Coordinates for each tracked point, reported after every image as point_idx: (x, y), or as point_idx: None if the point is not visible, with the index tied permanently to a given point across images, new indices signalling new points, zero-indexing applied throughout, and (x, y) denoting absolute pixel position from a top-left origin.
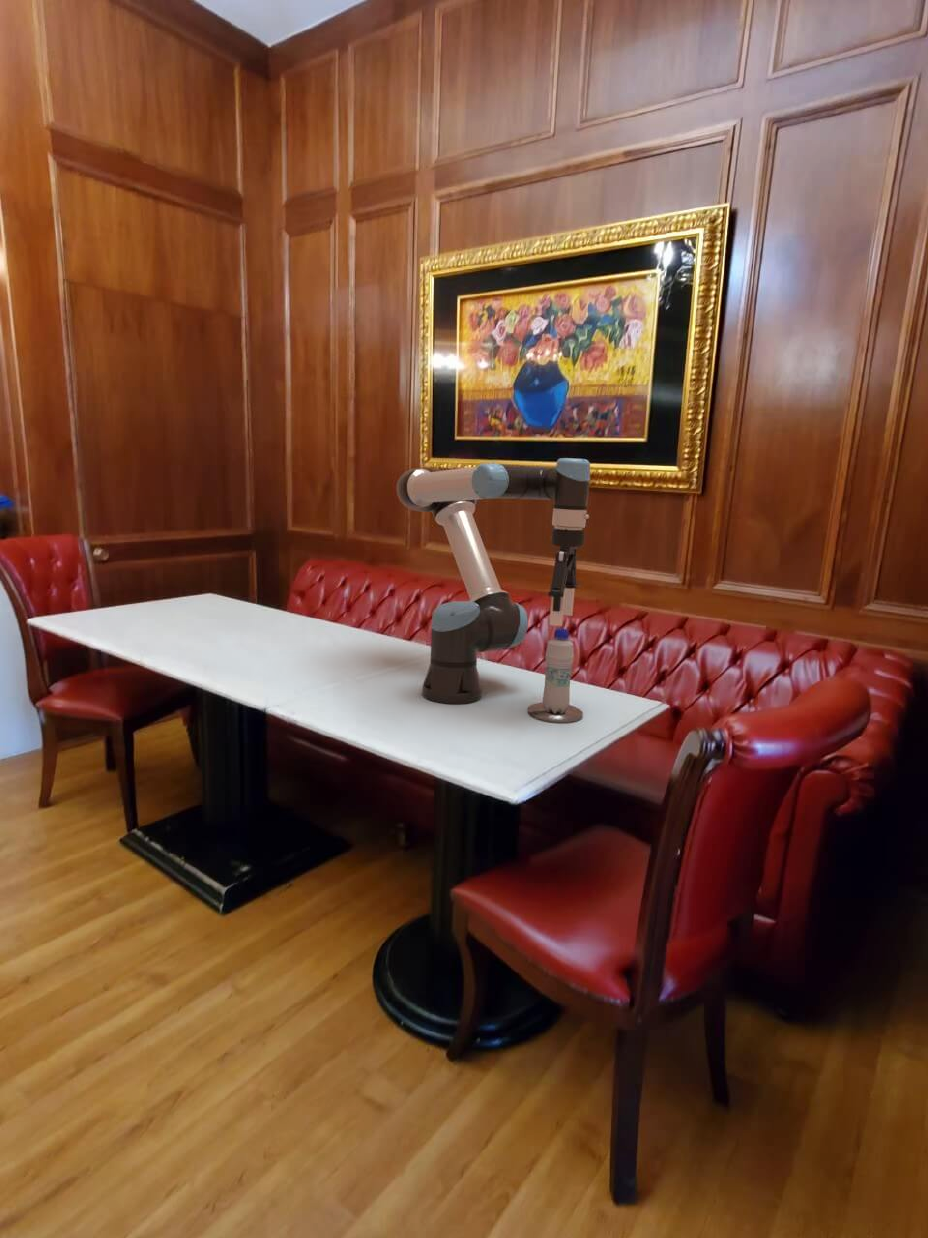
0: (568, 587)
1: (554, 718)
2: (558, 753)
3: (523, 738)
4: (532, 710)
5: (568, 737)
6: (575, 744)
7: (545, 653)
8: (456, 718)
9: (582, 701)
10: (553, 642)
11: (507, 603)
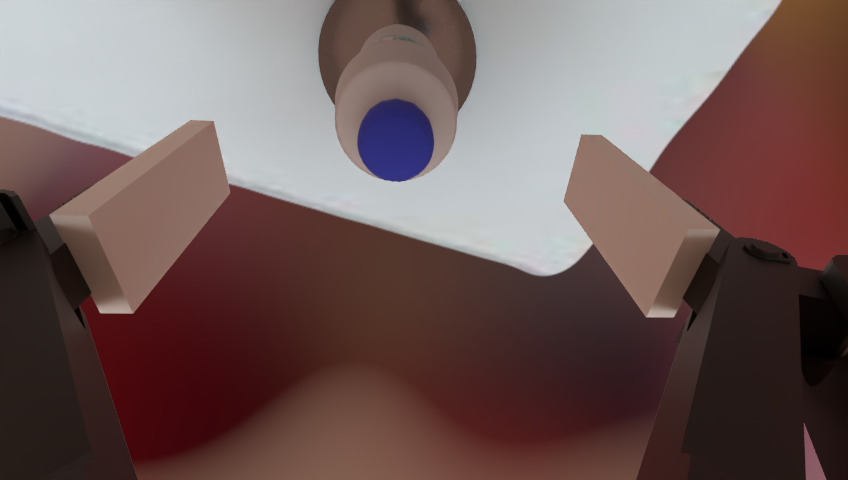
0: (701, 276)
1: (331, 73)
2: (122, 116)
3: (153, 8)
4: None
5: (240, 124)
6: None
7: (382, 44)
8: None
9: (538, 121)
10: (353, 98)
11: None
